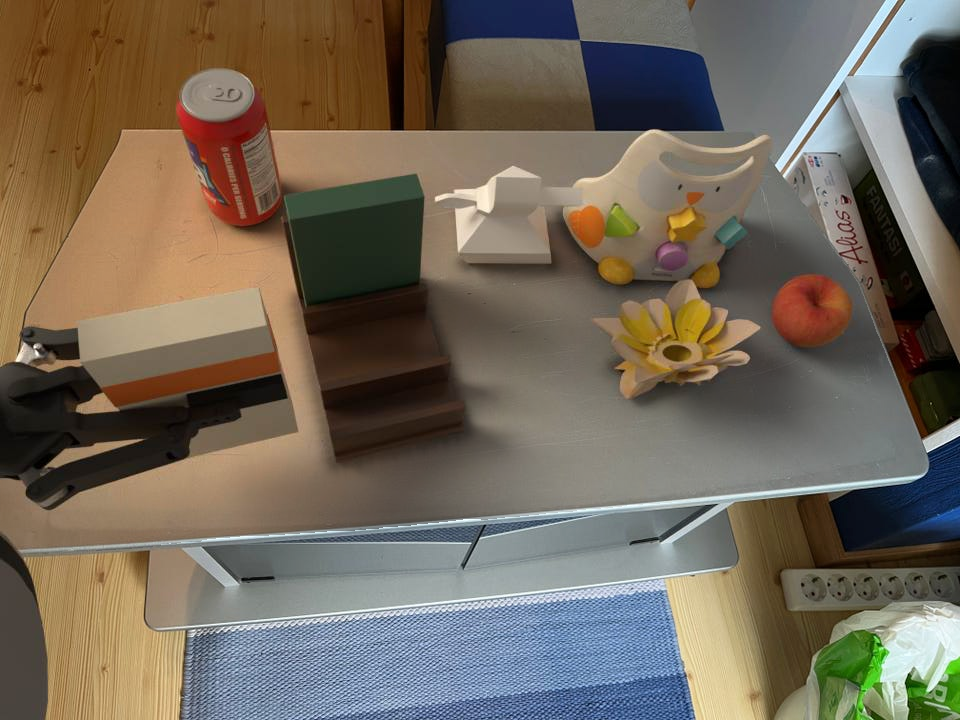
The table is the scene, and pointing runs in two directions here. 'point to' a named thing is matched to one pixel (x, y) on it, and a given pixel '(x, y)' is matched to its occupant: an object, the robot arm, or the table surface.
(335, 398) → the book rack
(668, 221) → the shape sorter
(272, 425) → the book
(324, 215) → the green book
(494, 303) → the table surface
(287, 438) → the table surface
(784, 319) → the apple
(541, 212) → the white angular piece
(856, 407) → the table surface
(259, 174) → the soda can
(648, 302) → the decorative flower
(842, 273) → the table surface
